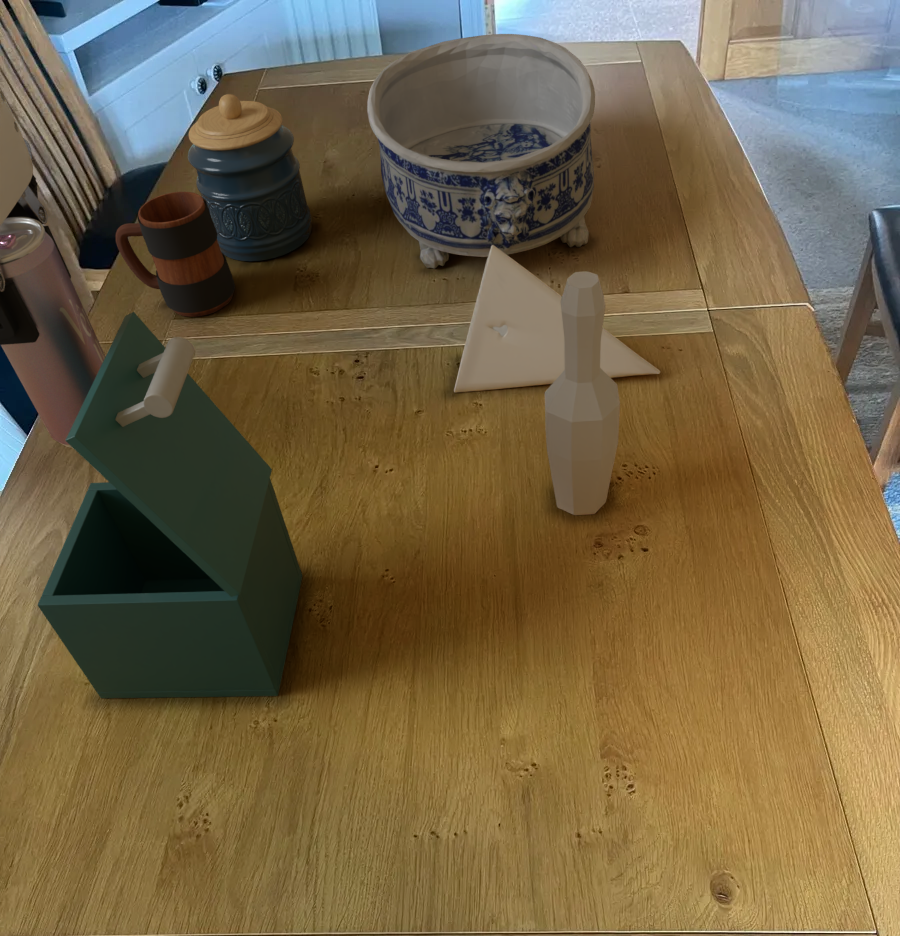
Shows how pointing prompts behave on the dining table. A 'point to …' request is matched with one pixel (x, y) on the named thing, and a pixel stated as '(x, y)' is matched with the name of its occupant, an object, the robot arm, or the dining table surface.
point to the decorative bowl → (486, 144)
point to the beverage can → (49, 327)
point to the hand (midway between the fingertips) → (32, 309)
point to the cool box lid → (173, 452)
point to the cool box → (169, 606)
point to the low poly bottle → (582, 404)
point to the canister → (250, 180)
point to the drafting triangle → (525, 334)
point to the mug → (180, 254)
